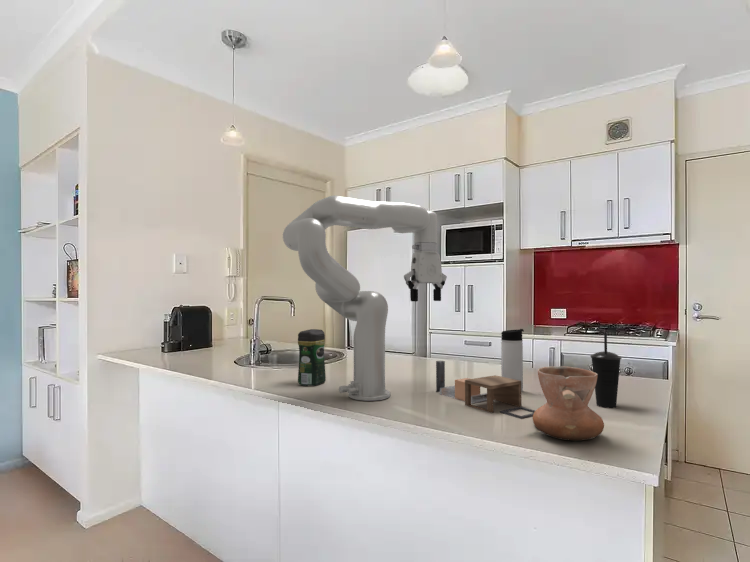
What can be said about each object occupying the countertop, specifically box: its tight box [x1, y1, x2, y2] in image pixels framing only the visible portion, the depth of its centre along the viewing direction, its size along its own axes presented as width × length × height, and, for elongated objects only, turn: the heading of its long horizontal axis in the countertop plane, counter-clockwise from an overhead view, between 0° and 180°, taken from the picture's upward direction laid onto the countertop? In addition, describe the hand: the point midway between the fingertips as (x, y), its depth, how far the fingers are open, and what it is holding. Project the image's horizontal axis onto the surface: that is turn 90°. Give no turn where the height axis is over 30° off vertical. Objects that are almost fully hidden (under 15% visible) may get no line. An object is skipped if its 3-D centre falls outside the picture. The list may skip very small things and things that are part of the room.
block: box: [454, 377, 481, 400], centre depth 127 cm, size 5×5×5 cm
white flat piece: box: [435, 360, 487, 405], centre depth 130 cm, size 7×18×10 cm, turn 33°
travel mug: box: [500, 328, 524, 393], centre depth 138 cm, size 6×7×20 cm
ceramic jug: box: [532, 365, 605, 442], centre depth 100 cm, size 18×14×14 cm
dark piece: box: [499, 406, 536, 420], centre depth 112 cm, size 8×7×2 cm
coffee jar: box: [297, 328, 327, 387], centre depth 154 cm, size 10×8×19 cm
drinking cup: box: [590, 332, 623, 409], centre depth 124 cm, size 8×8×20 cm
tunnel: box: [464, 374, 523, 414], centre depth 119 cm, size 12×9×8 cm
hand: (425, 301), depth 148 cm, fingers open, 9 cm apart
